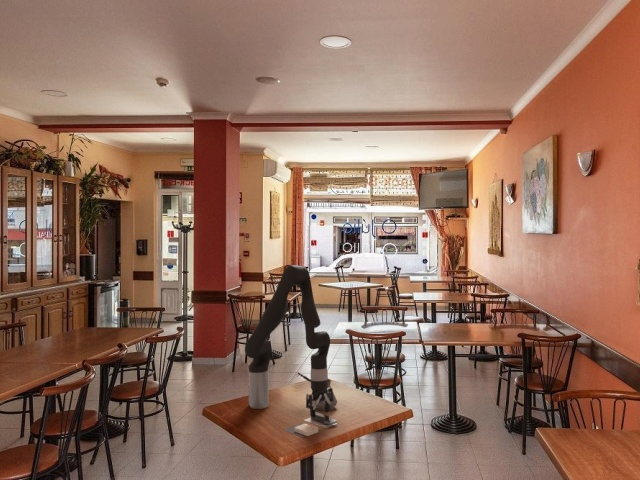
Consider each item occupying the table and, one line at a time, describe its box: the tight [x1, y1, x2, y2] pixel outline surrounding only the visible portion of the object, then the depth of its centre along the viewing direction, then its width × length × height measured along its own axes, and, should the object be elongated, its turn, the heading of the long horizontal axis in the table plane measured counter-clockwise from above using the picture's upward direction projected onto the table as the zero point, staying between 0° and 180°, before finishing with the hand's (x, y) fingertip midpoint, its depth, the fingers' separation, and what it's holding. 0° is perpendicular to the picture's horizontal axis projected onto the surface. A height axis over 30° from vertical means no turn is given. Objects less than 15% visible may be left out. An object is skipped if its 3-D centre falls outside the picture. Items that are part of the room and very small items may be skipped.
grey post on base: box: [310, 411, 338, 425], centre depth 224 cm, size 13×4×3 cm, turn 44°
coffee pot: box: [295, 372, 338, 412], centre depth 247 cm, size 21×12×15 cm, turn 59°
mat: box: [283, 423, 321, 438], centre depth 216 cm, size 12×10×1 cm
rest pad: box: [304, 416, 338, 429], centre depth 225 cm, size 14×7×1 cm, turn 44°
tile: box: [294, 423, 319, 437], centre depth 214 cm, size 2×6×8 cm
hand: (320, 414), depth 225 cm, fingers open, 8 cm apart
